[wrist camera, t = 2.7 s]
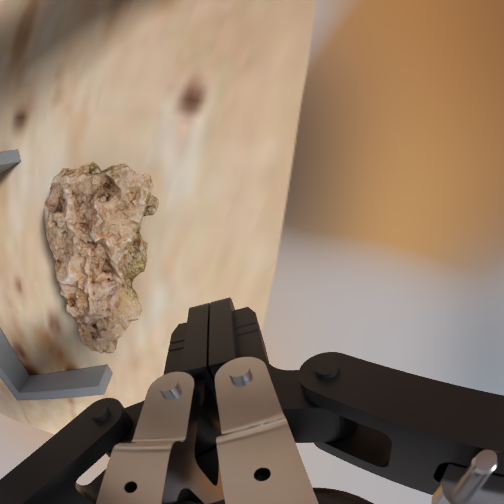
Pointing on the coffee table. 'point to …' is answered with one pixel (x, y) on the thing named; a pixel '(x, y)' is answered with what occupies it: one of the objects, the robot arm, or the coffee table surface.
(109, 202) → the rock
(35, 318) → the coffee table surface
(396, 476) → the robot arm
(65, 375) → the bracket
